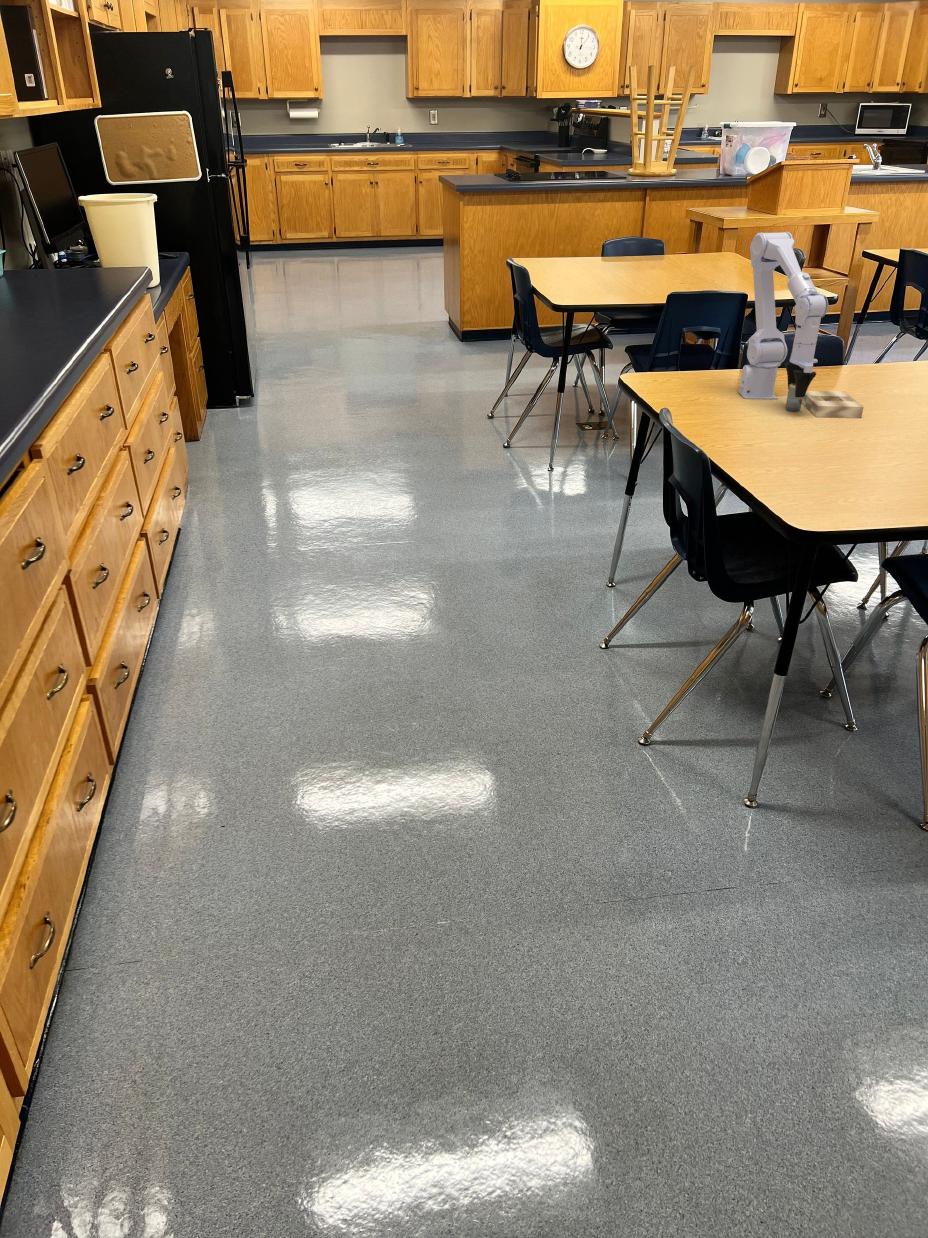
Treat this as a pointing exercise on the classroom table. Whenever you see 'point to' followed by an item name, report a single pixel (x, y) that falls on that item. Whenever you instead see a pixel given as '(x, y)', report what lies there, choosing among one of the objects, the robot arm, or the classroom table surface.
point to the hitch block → (832, 404)
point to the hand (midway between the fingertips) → (795, 393)
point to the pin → (793, 400)
